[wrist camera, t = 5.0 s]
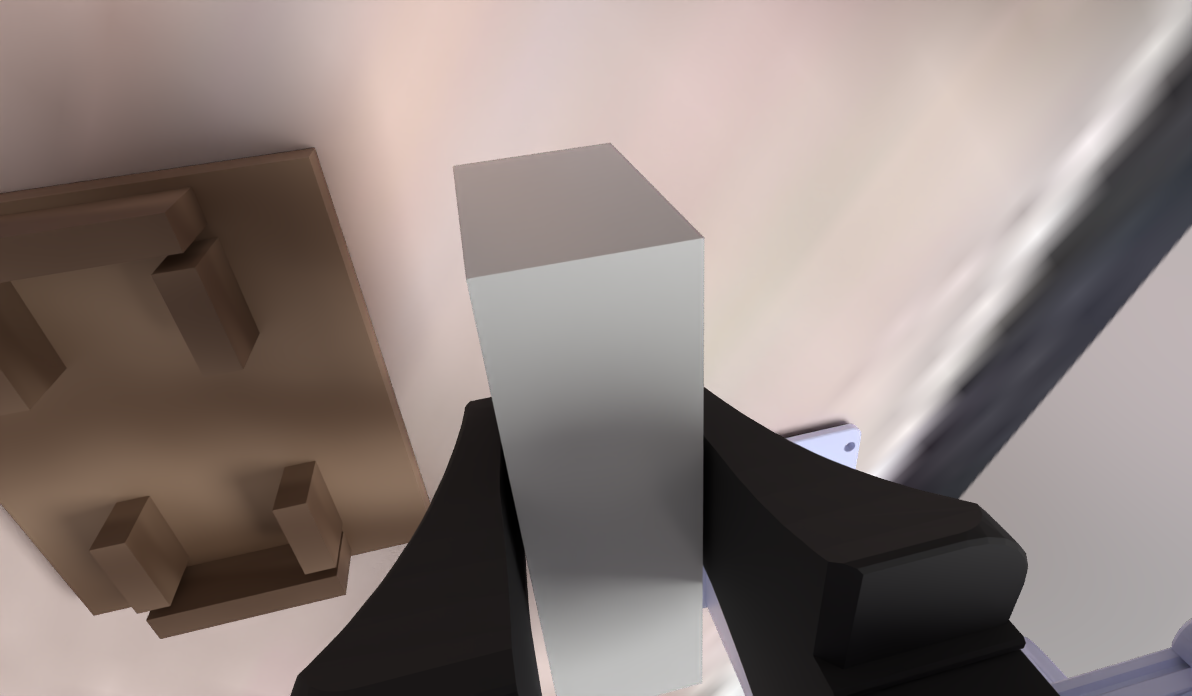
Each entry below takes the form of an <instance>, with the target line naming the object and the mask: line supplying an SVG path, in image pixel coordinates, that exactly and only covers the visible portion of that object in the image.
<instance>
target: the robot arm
mask: <svg viewBox="0 0 1192 696" xmlns="http://www.w3.org/2000/svg"><path fill="white" fill-rule="evenodd" d="M860 439H861V431H860V430H859V428H858V427H857V426H856V425H854V424H846V425H841V426H837V427H832V428H828V429H824V430H819V431H815V432H811V433H806V434H802V435H797V436H793V437H789V438H784V437H782V436H780V435H778V434H776V433H774V432H772V431H771V430H769V429H767V428H766V427H764V426H762V425H761V424H759V423H757V422H755V421H754V420H752V419H750V418H749V417H747V416H746V415H744V414H742V413H741V412H739V411H738V410H736V409H735V408H733V407H732V406H730V405H729V404H727V403H726V402H724V401H723V400H722V399H720V398H719V397H717V396H716V395H714V394H713V393H712V392H710V391H709V390H708V389H706V388H705V387H704V401H703V603H702V608H706V607H708V610H709V612H710V614H711V617H712V619H713V621H714V624H715V626H716V628H717V631H718V633H719V635H720V638H721V640H722V642H723V645H724V647H725V649H726V652H727V654H728V656H729V659H730V661H731V663H732V665H733V668H734V670H735V672H736V675H737V677H738V679H739V682H740V684H741V686H742V689H743V691H744V693H745V696H1192V618H1191V619H1189V620H1188V621H1187V622H1186V623H1185V624H1184V625H1183V626H1182V627H1181V628H1180V629H1179V631H1178V632H1177V634H1176V635H1175V637H1174V639H1173V641H1172V647H1171V648H1167V649H1164V650H1161V651H1158V652H1154V653H1151V654H1147V655H1144V656H1141V657H1138V658H1134V659H1131V660H1128V661H1124V662H1121V663H1118V664H1114V665H1111V666H1107V667H1104V668H1101V669H1097V670H1094V671H1091V672H1088V673H1084V674H1081V675H1078V676H1074V677H1071V678H1067V677H1066V676H1065V675H1064V674H1063V673H1062V671H1061V670H1060V669H1059V668H1058V667H1057V666H1056V665H1055V664H1054V663H1053V662H1052V661H1051V660H1050V659H1049V658H1048V656H1047V655H1046V654H1045V653H1044V652H1043V651H1042V650H1040V648H1039V647H1038V646H1037V645H1036V644H1035V643H1034V642H1032V641H1031V640H1030V639H1029V638H1027V637H1024V636H1023V635H1022V634H1021V633H1020V632H1019V631H1018V630H1017V629H1016V627H1015V626H1014V625H1013V624H1012V623H1011V622H1010V621H1009V618H1010V616H1011V614H1012V611H1013V609H1014V606H1015V604H1016V602H1017V599H1018V597H1019V595H1020V592H1021V590H1022V587H1023V585H1024V582H1025V578H1026V574H1027V569H1028V563H1027V556H1026V553H1025V551H1024V550H1023V549H1022V548H1021V546H1020V545H1019V544H1018V543H1017V542H1016V541H1015V540H1014V539H1013V538H1012V537H1011V536H1010V535H1009V534H1008V533H1007V532H1006V531H1005V530H1004V529H1003V528H1002V527H1001V526H1000V525H999V524H998V523H997V522H996V521H995V520H994V519H993V518H992V517H991V516H990V515H989V514H988V513H987V512H986V511H985V510H983V509H982V508H981V507H980V506H979V505H978V504H976V503H972V502H967V501H963V500H959V499H955V498H951V497H946V496H942V495H938V494H934V493H930V492H925V491H921V490H918V489H914V488H911V487H907V486H904V485H901V484H897V483H894V482H891V481H888V480H884V479H881V478H878V477H875V476H872V475H870V474H867V473H864V472H861V471H858V470H856V463H857V457H858V451H859V445H860ZM846 444H847V445H846ZM290 696H542V693H541V687H540V681H539V675H538V669H537V663H536V656H535V650H534V644H533V638H532V632H531V624H530V614H529V603H528V588H527V573H526V558H525V549H524V544H523V540H522V535H521V531H520V526H519V521H518V517H517V512H516V507H515V503H514V498H513V494H512V489H511V484H510V480H509V475H508V470H507V466H506V461H505V457H504V452H503V447H502V443H501V438H500V433H499V429H498V424H497V420H496V415H495V410H494V406H493V401H492V397H490V398H485V399H480V400H475V401H470V402H469V403H468V404H467V405H466V407H465V411H464V417H463V421H462V425H461V429H460V432H459V435H458V438H457V441H456V444H455V447H454V450H453V453H452V455H451V458H450V461H449V463H448V466H447V468H446V471H445V473H444V476H443V478H442V480H441V482H440V484H439V487H438V489H437V491H436V493H435V495H434V497H433V499H432V501H431V504H430V506H429V508H428V509H427V511H426V513H425V515H424V517H423V519H422V521H421V522H420V524H419V526H418V528H417V529H416V531H415V533H414V534H413V536H412V538H411V539H410V541H409V543H408V544H407V546H406V547H405V549H404V550H403V552H402V553H401V555H400V556H399V558H398V559H397V561H396V562H395V564H394V565H393V567H392V568H391V570H390V571H389V573H388V574H387V575H386V577H385V578H384V580H383V581H382V582H381V584H380V585H379V586H378V587H377V589H376V590H375V591H374V592H373V594H372V595H371V596H370V597H369V599H368V600H367V601H366V602H365V603H364V605H363V606H362V607H361V608H360V610H359V611H358V612H357V613H356V615H355V616H354V617H353V618H352V619H351V621H350V622H349V623H348V624H347V625H346V626H345V628H344V629H343V630H342V631H341V632H340V633H339V634H338V635H337V636H336V637H335V638H334V639H333V640H332V641H331V642H330V644H329V645H328V646H327V647H326V648H325V649H324V650H323V651H322V652H321V653H320V654H319V655H318V656H317V657H316V658H315V659H314V660H313V661H312V662H311V663H310V664H309V665H308V666H307V667H306V668H305V669H304V670H303V671H302V672H301V673H300V674H299V675H298V676H297V678H296V681H295V684H294V687H293V690H292V693H291V695H290Z"/></svg>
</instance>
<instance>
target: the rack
mask: <svg viewBox="0 0 1192 696" xmlns="http://www.w3.org/2000/svg"><path fill="white" fill-rule="evenodd" d="M0 503H1V505H2V506H3V507H4V508H5V509H6V511H7V512H8V513H9V514H10V515H11V517H12V518H13V519H14V520H15V521H16V523H17V524H18V525H19V526H20V527H21V529H22V530H23V531H24V532H25V533H26V535H27V536H28V537H29V538H30V539H31V541H32V542H33V543H34V544H35V545H36V547H37V548H38V549H39V550H40V552H41V553H42V554H43V555H44V556H45V558H46V559H47V560H48V561H49V562H50V564H51V565H52V566H53V567H54V568H55V570H56V571H57V572H58V573H59V574H60V576H61V577H62V578H63V579H64V580H65V582H66V583H67V584H68V585H69V586H70V588H71V589H72V590H73V591H74V592H75V594H76V595H77V596H78V597H79V598H80V600H81V601H82V602H83V603H84V605H85V606H86V607H87V608H88V609H89V611H90V612H91V613H92V614H93V615H99V614H103V613H107V612H112V611H116V610H120V609H125V608H129V607H132V608H133V609H134V610H135V612H136V613H137V614H138V613H142V612H147V611H150V613H149V615H148V618H147V620H146V621H147V622H148V624H149V625H150V626H151V628H152V629H153V630H154V631H155V633H156V634H157V635H158V637H159V638H160V639H163V638H167V637H171V636H175V635H179V634H184V633H188V632H192V631H196V630H200V629H204V628H209V627H213V626H217V625H221V624H225V623H229V622H234V621H238V620H242V619H246V618H250V617H254V616H259V615H263V614H267V613H271V612H275V611H279V610H284V609H288V608H292V607H296V606H300V605H305V604H309V603H313V602H317V601H321V600H325V599H330V598H334V597H338V596H342V595H346V589H347V581H348V574H349V566H350V558H351V556H353V555H357V554H362V553H366V552H370V551H375V550H379V549H383V548H388V547H392V546H396V545H401V544H405V543H409V541H410V539H411V538H412V536H413V534H414V533H415V531H416V529H417V528H418V526H419V524H420V522H421V521H422V519H423V517H424V515H425V513H426V511H427V509H428V508H429V506H430V501H429V498H428V495H427V492H426V489H425V486H424V483H423V480H422V477H421V474H420V471H419V467H418V464H417V461H416V458H415V455H414V452H413V449H412V446H411V443H410V440H409V437H408V434H407V431H406V427H405V424H404V421H403V418H402V415H401V412H400V409H399V406H398V403H397V400H396V397H395V394H394V390H393V387H392V384H391V381H390V378H389V375H388V372H387V369H386V366H385V363H384V360H383V357H382V354H381V350H380V347H379V344H378V341H377V338H376V335H375V332H374V329H373V326H372V323H371V320H370V317H369V313H368V310H367V307H366V304H365V301H364V298H363V295H362V292H361V289H360V286H359V283H358V280H357V276H356V273H355V270H354V267H353V264H352V261H351V258H350V255H349V252H348V249H347V246H346V243H345V240H344V236H343V233H342V230H341V227H340V224H339V221H338V218H337V215H336V212H335V209H334V206H333V203H332V199H331V196H330V193H329V190H328V187H327V184H326V181H325V178H324V175H323V172H322V169H321V166H320V163H319V159H318V156H317V153H316V150H315V148H309V149H303V150H296V151H289V152H282V153H275V154H268V155H261V156H255V157H248V158H241V159H234V160H227V161H220V162H213V163H207V164H200V165H193V166H186V167H179V168H172V169H165V170H158V171H152V172H145V173H138V174H131V175H124V176H117V177H110V178H104V179H97V180H90V181H83V182H76V183H69V184H62V185H56V186H49V187H42V188H35V189H28V190H21V191H14V192H8V193H1V194H0Z"/></svg>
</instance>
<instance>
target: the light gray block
mask: <svg viewBox="0 0 1192 696" xmlns="http://www.w3.org/2000/svg"><path fill="white" fill-rule="evenodd" d="M453 172H454V180H455V189H456V197H457V206H458V214H459V223H460V231H461V240H462V248H463V257H464V265H465V274H466V281H467V285H468V290H469V295H470V299H471V304H472V309H473V313H474V318H475V322H476V327H477V332H478V336H479V341H480V346H481V350H482V355H483V359H484V364H485V369H486V373H487V378H488V383H489V387H490V392H491V396H492V401H493V406H494V410H495V415H496V420H497V424H498V429H499V433H500V438H501V443H502V447H503V452H504V457H505V461H506V466H507V470H508V475H509V480H510V484H511V489H512V494H513V498H514V503H515V507H516V512H517V517H518V521H519V526H520V531H521V535H522V540H523V544H524V549H525V554H526V558H527V563H528V568H529V572H530V577H531V581H532V586H533V591H534V595H535V600H536V605H537V609H538V614H539V619H540V623H541V628H542V632H543V637H544V642H545V646H546V651H547V656H548V660H549V665H550V669H551V674H552V679H553V683H554V688H555V693H556V696H657V695H661V694H665V693H668V692H672V691H676V690H679V689H683V688H686V687H690V686H694V685H697V684H701V683H702V603H703V401H704V237H703V236H702V235H701V234H700V233H699V232H698V231H697V230H696V229H695V228H694V227H693V226H692V225H691V224H690V223H689V222H688V221H687V220H686V219H685V218H684V217H683V216H682V215H681V214H680V213H679V212H678V211H677V210H676V209H675V208H674V207H673V206H672V205H671V204H670V203H669V202H668V201H667V200H666V199H665V198H664V197H663V196H662V195H661V194H660V193H659V192H658V191H657V189H656V188H655V187H654V186H653V185H652V184H651V183H650V182H649V181H648V180H647V179H646V178H645V177H644V176H643V175H642V174H641V173H640V172H639V171H638V170H637V169H636V168H635V167H634V166H633V165H632V164H631V163H630V162H629V161H628V160H627V159H626V158H625V157H624V156H623V155H622V154H621V153H620V152H619V151H618V150H617V149H616V148H615V147H614V146H613V145H612V144H611V143H606V144H599V145H592V146H585V147H578V148H572V149H565V150H558V151H551V152H545V153H538V154H531V155H524V156H518V157H511V158H504V159H497V160H490V161H484V162H477V163H470V164H463V165H457V166H453Z"/></svg>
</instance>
